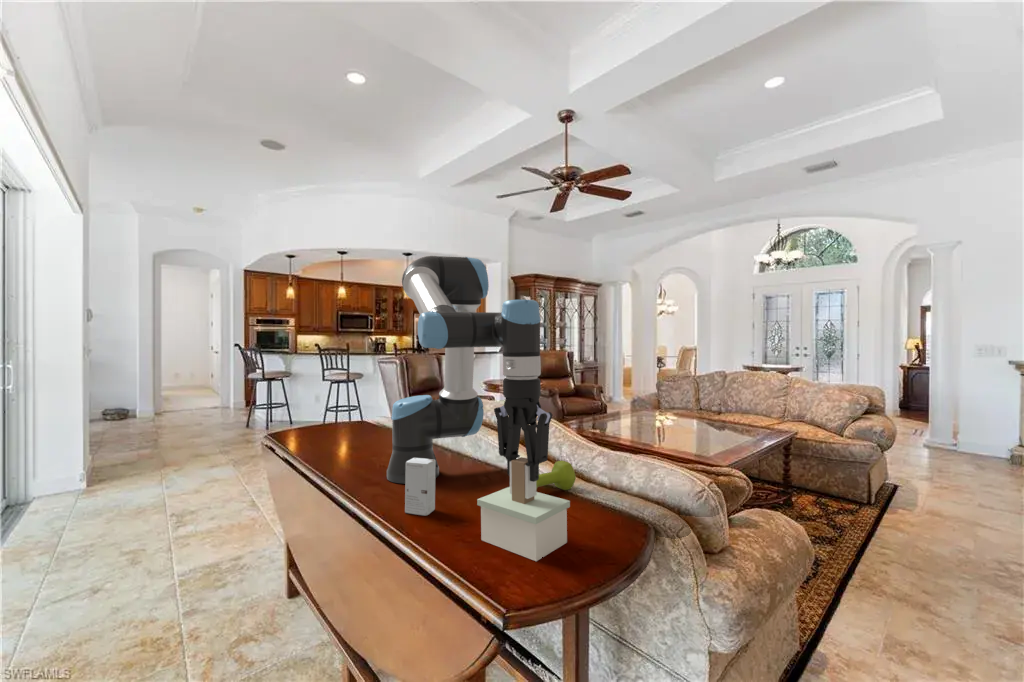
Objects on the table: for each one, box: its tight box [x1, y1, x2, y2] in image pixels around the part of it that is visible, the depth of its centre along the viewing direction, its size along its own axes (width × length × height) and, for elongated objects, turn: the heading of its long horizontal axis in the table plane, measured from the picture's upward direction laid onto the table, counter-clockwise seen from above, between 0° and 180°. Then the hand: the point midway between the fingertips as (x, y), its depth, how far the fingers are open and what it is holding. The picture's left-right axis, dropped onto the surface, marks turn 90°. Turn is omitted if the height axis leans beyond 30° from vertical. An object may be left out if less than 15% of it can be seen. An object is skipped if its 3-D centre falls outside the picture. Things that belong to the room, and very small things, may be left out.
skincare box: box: [404, 458, 437, 517], centre depth 110 cm, size 6×4×12 cm
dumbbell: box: [536, 460, 577, 492], centre depth 122 cm, size 16×8×7 cm, turn 122°
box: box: [480, 506, 568, 562], centre depth 93 cm, size 14×10×7 cm
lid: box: [476, 456, 571, 524], centre depth 93 cm, size 15×11×10 cm
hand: (523, 494), depth 93 cm, fingers closed on lid, 3 cm apart
